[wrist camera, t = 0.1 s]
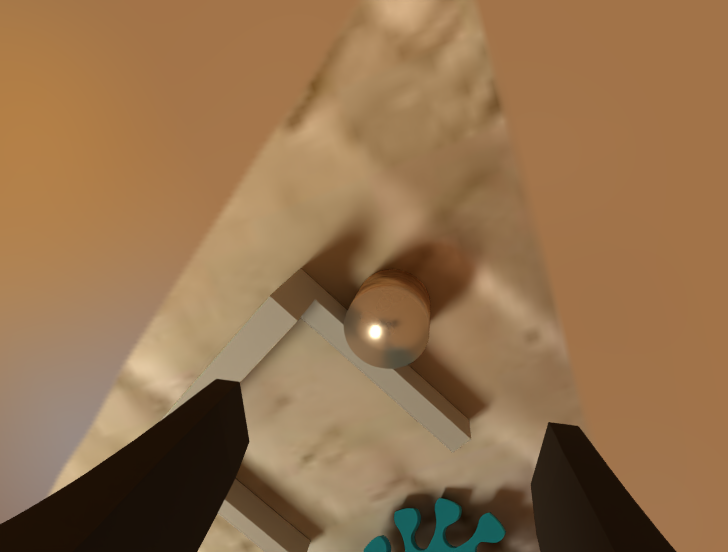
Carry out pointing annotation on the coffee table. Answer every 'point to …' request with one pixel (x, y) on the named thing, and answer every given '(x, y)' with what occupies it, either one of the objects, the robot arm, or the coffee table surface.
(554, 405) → the coffee table surface
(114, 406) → the coffee table surface
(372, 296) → the bushing
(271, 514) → the cradle
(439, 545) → the gear
